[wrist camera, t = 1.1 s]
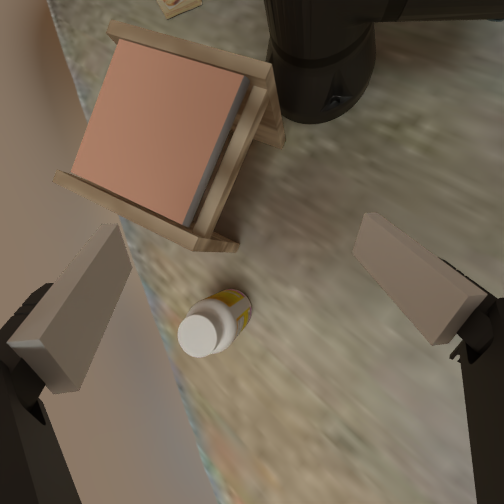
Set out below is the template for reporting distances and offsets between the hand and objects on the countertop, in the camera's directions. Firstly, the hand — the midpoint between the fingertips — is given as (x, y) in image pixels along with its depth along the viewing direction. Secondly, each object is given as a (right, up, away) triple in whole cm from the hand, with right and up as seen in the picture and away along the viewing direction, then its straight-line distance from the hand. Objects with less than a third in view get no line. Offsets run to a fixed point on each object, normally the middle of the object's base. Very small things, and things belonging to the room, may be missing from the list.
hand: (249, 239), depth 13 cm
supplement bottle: (-3, -10, +25) cm, 27 cm away
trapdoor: (-10, +12, +12) cm, 20 cm away
